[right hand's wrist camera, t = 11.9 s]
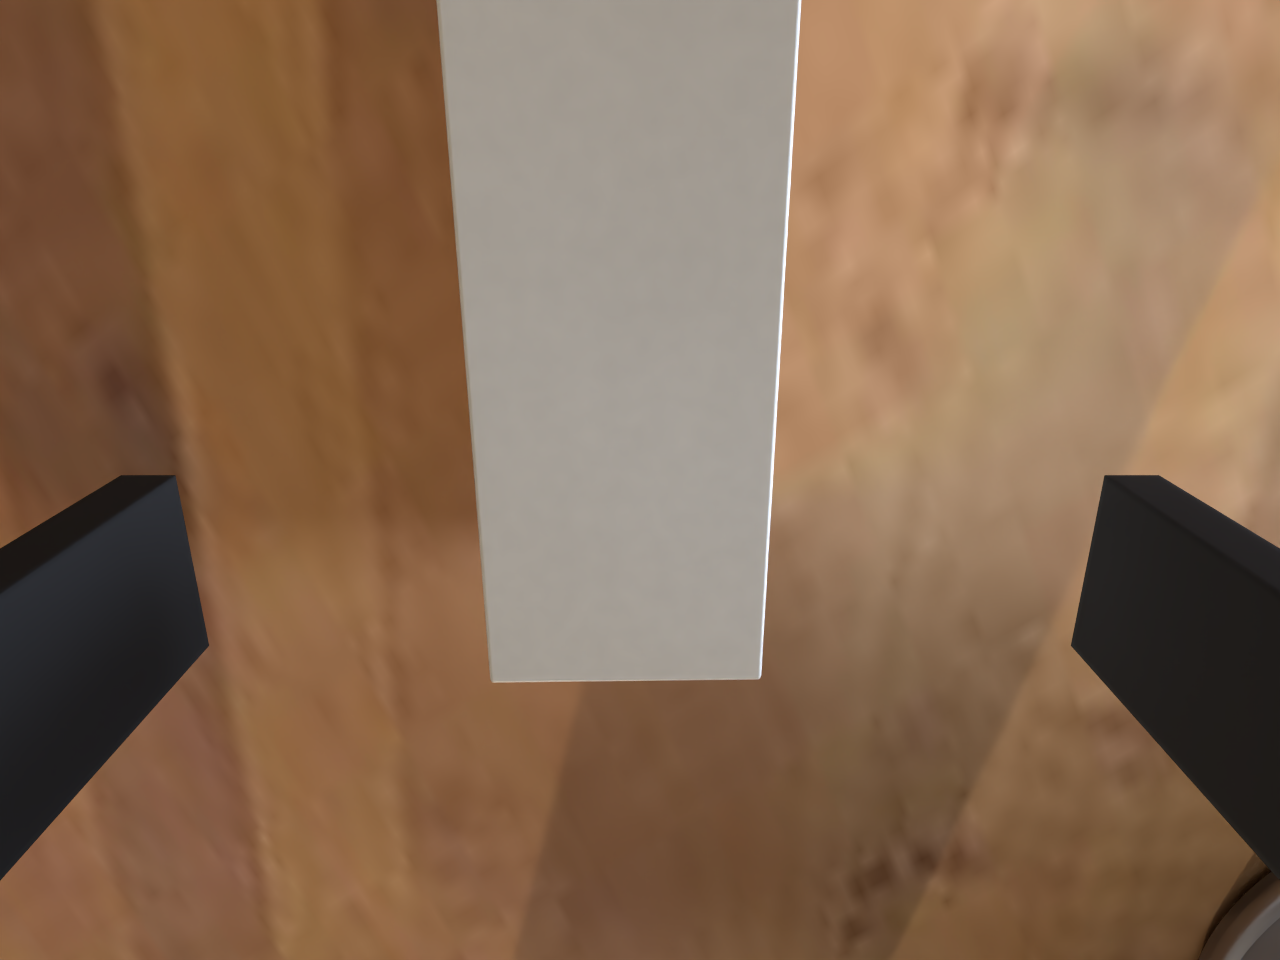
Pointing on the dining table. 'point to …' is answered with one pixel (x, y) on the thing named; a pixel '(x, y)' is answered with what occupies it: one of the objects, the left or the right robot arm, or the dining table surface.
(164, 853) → the dining table surface
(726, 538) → the bar
